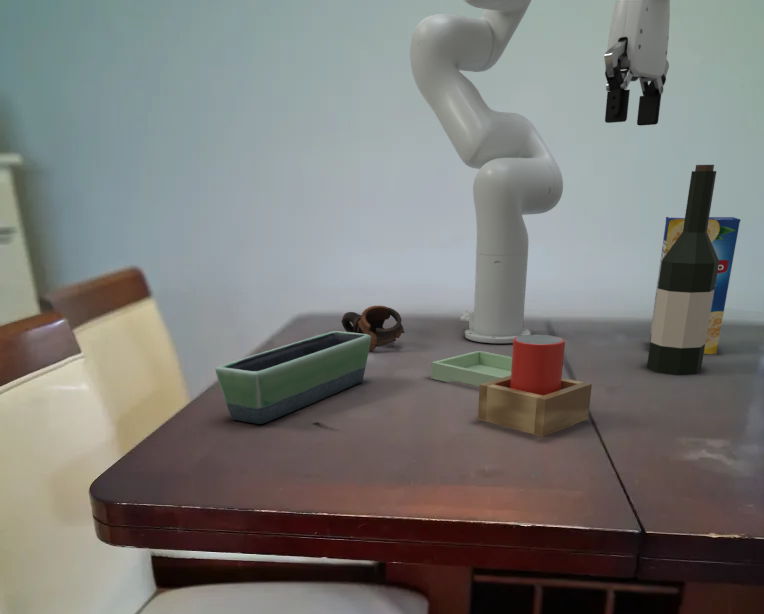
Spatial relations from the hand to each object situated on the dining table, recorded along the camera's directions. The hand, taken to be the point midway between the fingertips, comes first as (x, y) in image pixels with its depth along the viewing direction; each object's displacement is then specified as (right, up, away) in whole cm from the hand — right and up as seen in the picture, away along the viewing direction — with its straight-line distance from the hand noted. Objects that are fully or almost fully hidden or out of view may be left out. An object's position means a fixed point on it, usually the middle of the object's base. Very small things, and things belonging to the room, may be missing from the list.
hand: (631, 123), depth 111 cm
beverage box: (+17, -29, +23) cm, 41 cm away
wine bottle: (+10, -35, +10) cm, 38 cm away
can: (-18, -46, -16) cm, 52 cm away
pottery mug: (-39, -27, +28) cm, 55 cm away
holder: (-18, -47, -16) cm, 53 cm away
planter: (-49, -42, -5) cm, 65 cm away
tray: (-21, -38, +4) cm, 43 cm away
